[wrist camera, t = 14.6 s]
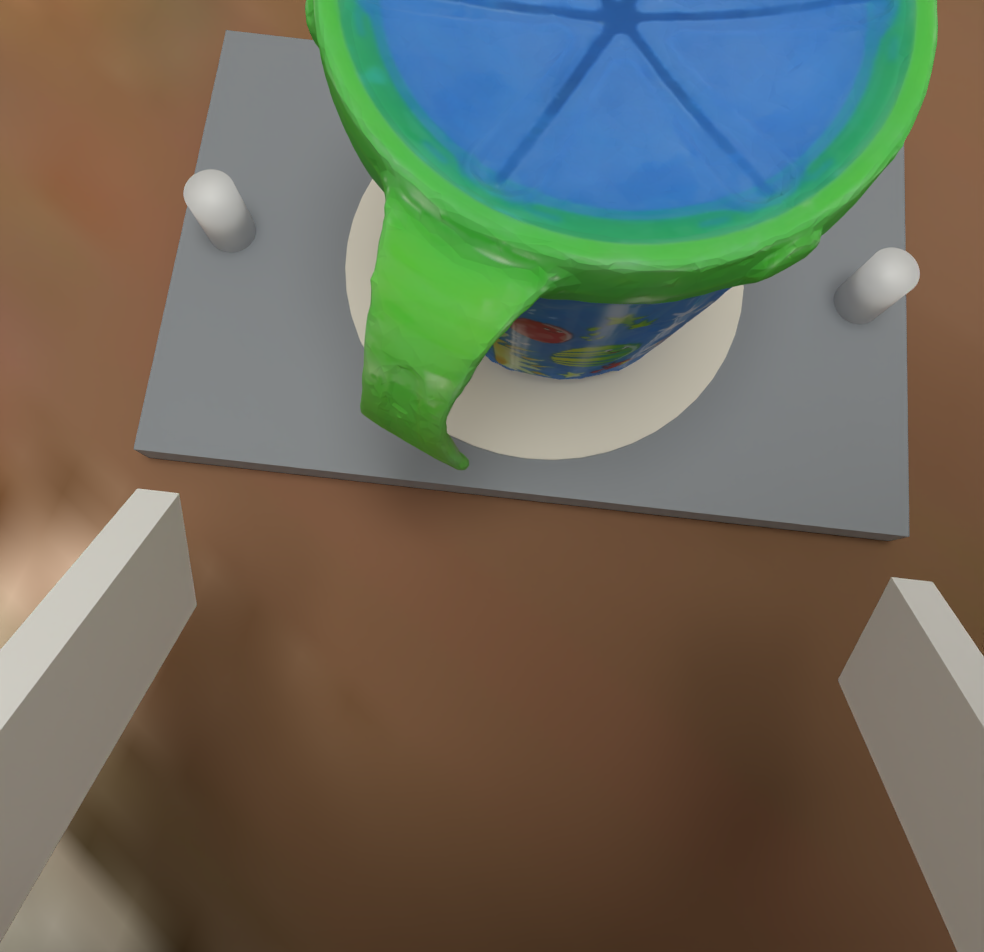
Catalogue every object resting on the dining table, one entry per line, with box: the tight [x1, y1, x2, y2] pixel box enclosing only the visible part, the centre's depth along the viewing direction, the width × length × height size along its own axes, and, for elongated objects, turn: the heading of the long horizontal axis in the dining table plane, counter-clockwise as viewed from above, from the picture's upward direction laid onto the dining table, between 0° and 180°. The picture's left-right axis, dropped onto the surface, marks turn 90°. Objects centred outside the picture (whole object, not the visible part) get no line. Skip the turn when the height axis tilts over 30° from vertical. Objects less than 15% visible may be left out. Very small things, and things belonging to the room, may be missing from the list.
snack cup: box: [305, 0, 938, 470], centre depth 17 cm, size 16×10×10 cm
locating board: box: [134, 30, 920, 541], centre depth 22 cm, size 22×14×3 cm, turn 84°
